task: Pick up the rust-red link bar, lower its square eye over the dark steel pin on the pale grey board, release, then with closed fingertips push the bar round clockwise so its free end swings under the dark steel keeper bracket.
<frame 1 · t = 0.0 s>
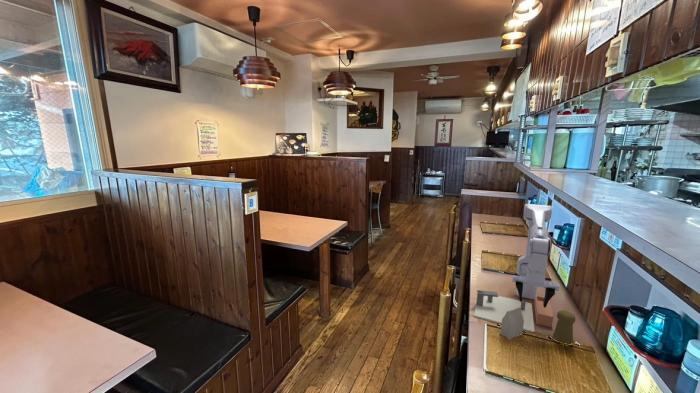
hand: (532, 303, 107), 10 cm above the table, fingers open, 7 cm apart
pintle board: (522, 310, 120), on the table
cork: (562, 341, 102), on the table
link: (543, 324, 111), on the table
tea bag: (511, 334, 105), on the table
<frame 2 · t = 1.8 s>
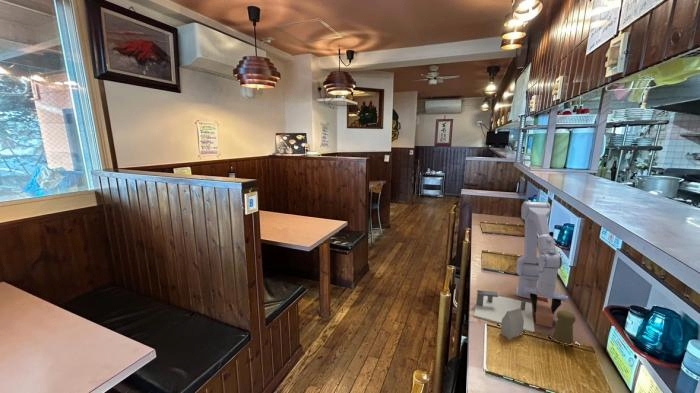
hand: (542, 313, 116), 1 cm above the table, fingers closed on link, 5 cm apart
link: (543, 324, 111), on the table, touching gripper
everything else where it was.
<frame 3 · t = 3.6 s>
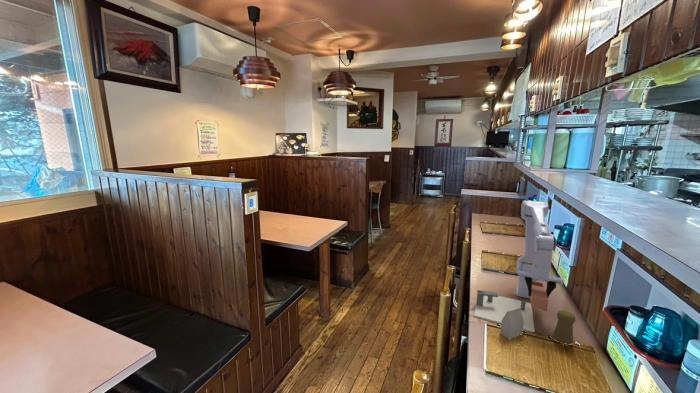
hand: (537, 296, 114), 9 cm above the table, fingers closed on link, 5 cm apart
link: (538, 308, 109), point 7 cm above the table, touching gripper
everything else where it was.
when the fingers open (3 cm above the table, at t = 5.6 s): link stays where it is, resting on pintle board.
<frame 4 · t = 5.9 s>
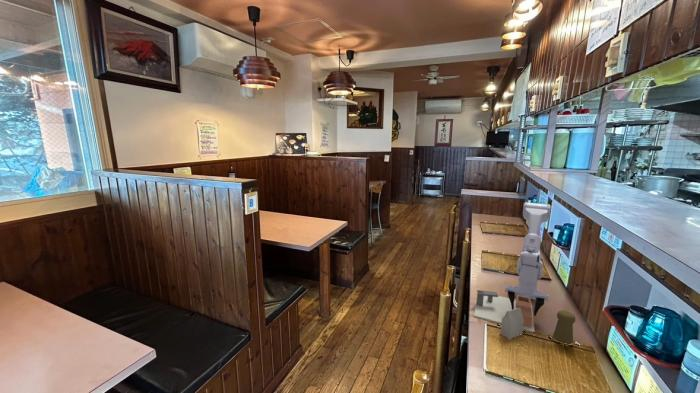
hand: (523, 311, 115), 3 cm above the table, fingers open, 7 cm apart
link: (523, 324, 110), point 1 cm above the table, touching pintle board
everything else where it was.
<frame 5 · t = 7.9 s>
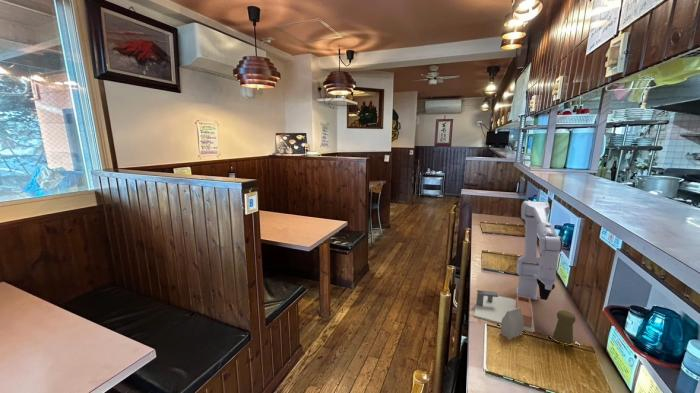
hand: (543, 298, 112), 9 cm above the table, fingers closed
nothing on the table moved.
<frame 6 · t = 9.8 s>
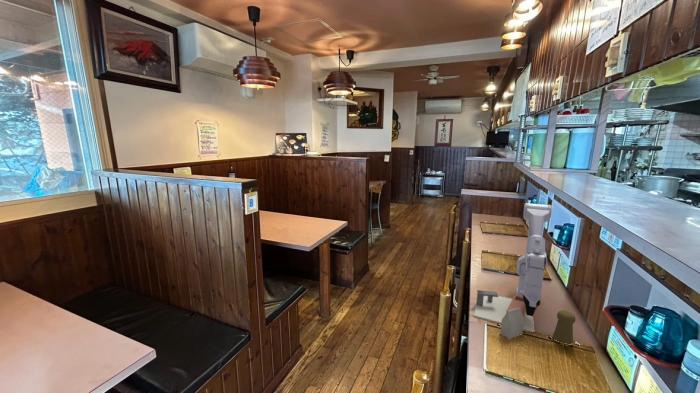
hand: (529, 314, 113), 2 cm above the table, fingers closed
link: (513, 321, 112), point 1 cm above the table, touching gripper, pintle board
everything else where it was.
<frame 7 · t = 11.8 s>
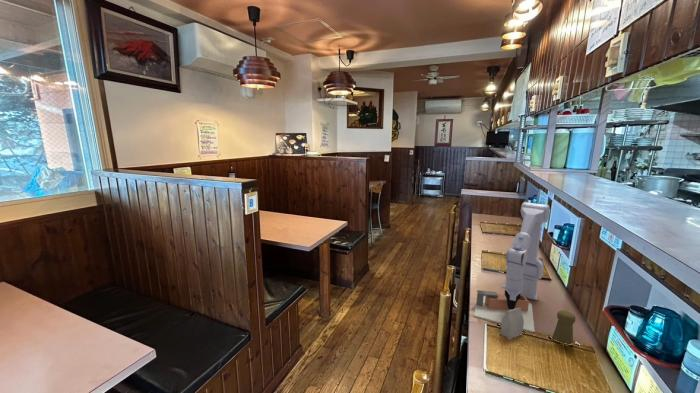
hand: (510, 308, 118), 2 cm above the table, fingers closed
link: (489, 305, 123), point 1 cm above the table, touching gripper, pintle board
everything else where it was.
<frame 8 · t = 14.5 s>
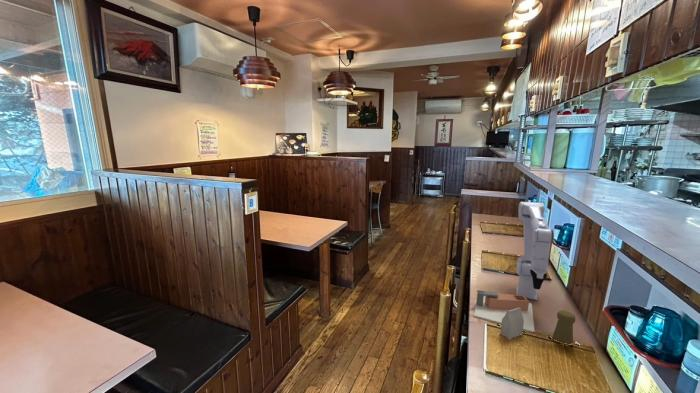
hand: (536, 288, 118), 10 cm above the table, fingers closed
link: (489, 305, 123), point 1 cm above the table, touching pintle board
everything else where it was.
at the end: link 1.5 cm from the target spot on the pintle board, point 0.6 cm above the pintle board's base; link tilted 0°; the gripper is holding nothing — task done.
